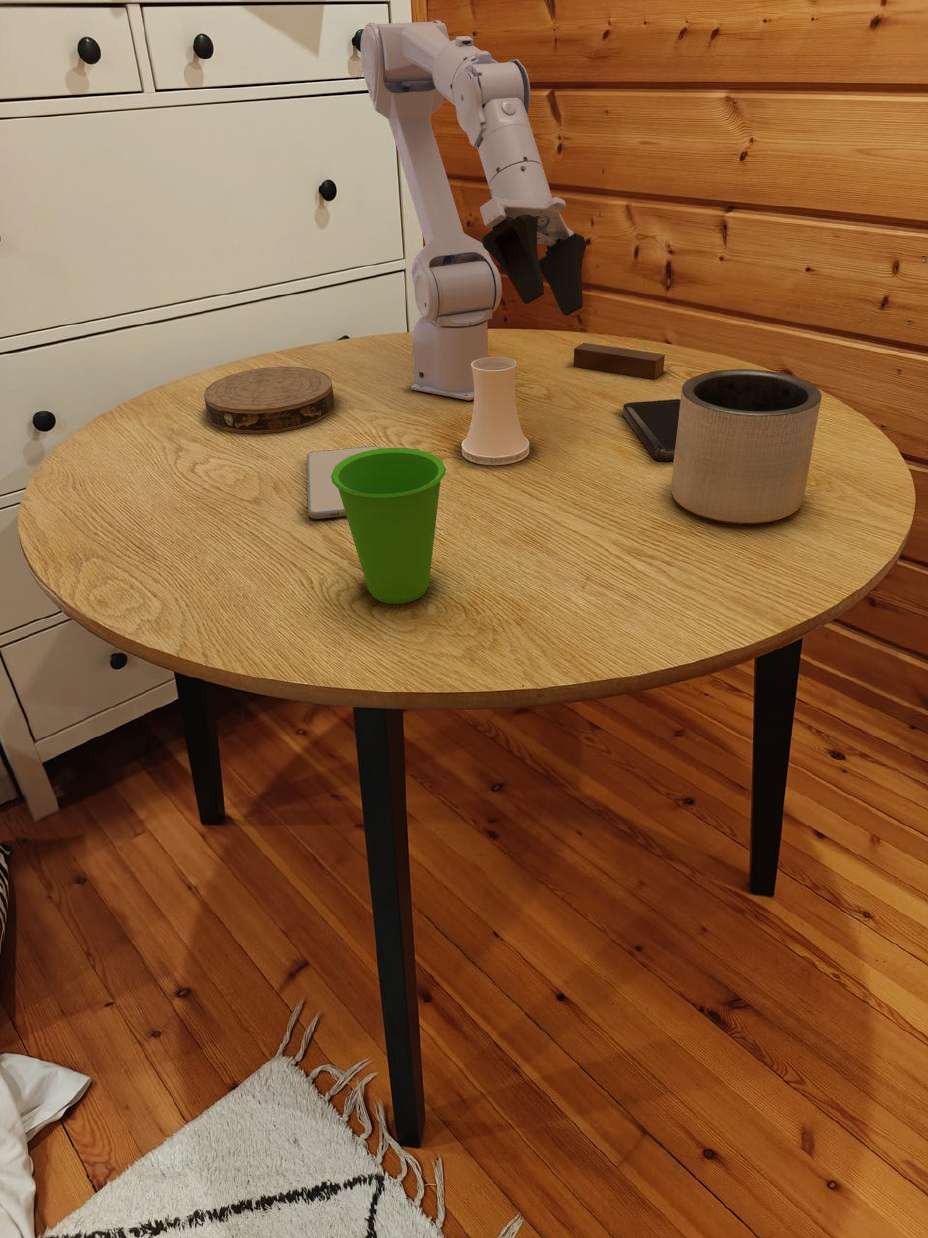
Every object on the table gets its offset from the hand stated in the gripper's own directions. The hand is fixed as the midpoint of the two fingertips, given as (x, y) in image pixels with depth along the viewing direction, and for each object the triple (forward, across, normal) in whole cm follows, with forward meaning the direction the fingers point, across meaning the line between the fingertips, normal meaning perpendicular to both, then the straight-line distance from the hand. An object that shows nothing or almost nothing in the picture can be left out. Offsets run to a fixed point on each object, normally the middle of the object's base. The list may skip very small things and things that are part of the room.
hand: (554, 305), depth 90 cm
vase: (+10, +4, +14) cm, 18 cm away
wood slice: (-6, -1, +41) cm, 42 cm away
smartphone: (+11, -11, +23) cm, 28 cm away
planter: (+24, +7, -9) cm, 27 cm away
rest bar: (-1, +33, +10) cm, 35 cm away
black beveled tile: (+13, +18, 0) cm, 22 cm away
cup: (+25, -22, +10) cm, 35 cm away
